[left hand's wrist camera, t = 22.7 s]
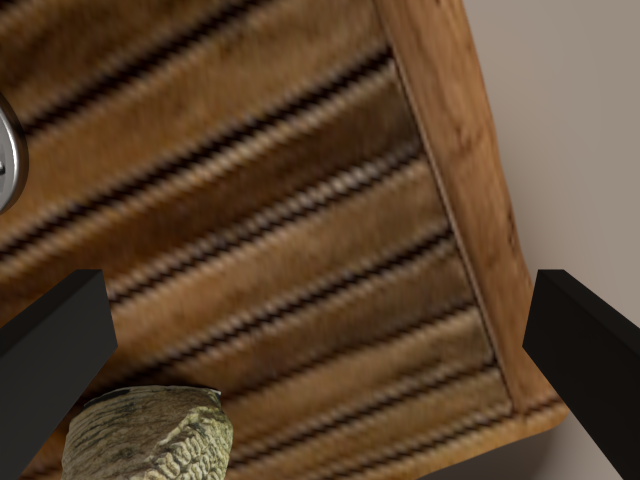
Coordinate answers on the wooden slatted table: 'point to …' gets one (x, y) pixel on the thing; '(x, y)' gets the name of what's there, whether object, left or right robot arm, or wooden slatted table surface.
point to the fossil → (149, 436)
